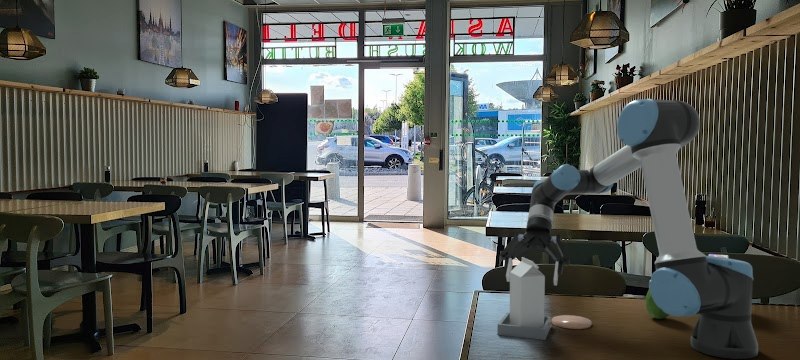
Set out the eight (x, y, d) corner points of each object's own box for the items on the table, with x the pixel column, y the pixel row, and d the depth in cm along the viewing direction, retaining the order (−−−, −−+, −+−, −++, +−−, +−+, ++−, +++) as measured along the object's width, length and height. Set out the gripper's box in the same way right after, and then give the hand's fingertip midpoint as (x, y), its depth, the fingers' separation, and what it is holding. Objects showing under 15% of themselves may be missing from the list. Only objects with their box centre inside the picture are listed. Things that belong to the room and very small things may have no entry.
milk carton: (520, 332, 170) (521, 262, 169) (509, 324, 177) (510, 257, 176) (544, 330, 172) (545, 261, 171) (532, 323, 179) (533, 256, 178)
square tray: (551, 326, 178) (551, 316, 178) (544, 339, 167) (544, 329, 166) (506, 321, 183) (507, 312, 183) (497, 334, 171) (497, 324, 171)
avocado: (644, 320, 185) (645, 279, 184) (646, 313, 192) (647, 274, 191) (673, 323, 181) (675, 282, 180) (674, 316, 188) (675, 277, 188)
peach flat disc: (599, 324, 180) (599, 321, 180) (574, 331, 174) (574, 328, 174) (568, 315, 189) (568, 313, 189) (543, 322, 183) (543, 319, 183)
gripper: (582, 232, 194) (576, 291, 181) (501, 228, 203) (490, 284, 190) (580, 217, 189) (575, 277, 176) (498, 213, 198) (486, 270, 185)
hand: (531, 281), depth 183 cm, fingers open, 13 cm apart
